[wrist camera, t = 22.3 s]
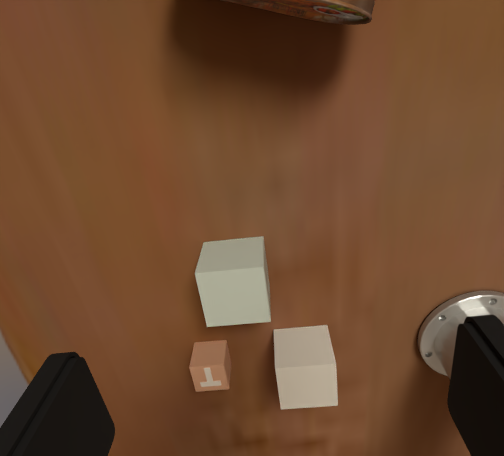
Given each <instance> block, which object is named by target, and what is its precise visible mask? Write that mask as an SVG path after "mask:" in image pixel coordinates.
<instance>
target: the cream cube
mask: <svg viewBox="0 0 504 456" xmlns="http://www.w3.org/2000/svg"><path fill="white" fill-rule="evenodd" d="M274 353H275V371H276V378H277V385H278V392H279V399H280V406H281V409H294V408H309V407H323V406H338V397H337V375H336V361H335V357H334V353H333V348H332V344H331V340H330V335H329V331H328V327H327V325H322V326H310V327H298V328H286V329H275V330H274Z"/></svg>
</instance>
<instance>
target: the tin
mask: <svg viewBox="0 0 504 456" xmlns="http://www.w3.org/2000/svg"><path fill="white" fill-rule="evenodd" d="M222 1H227V2H231V3H236V4H240V5H245V6H250V7H254V8H259V9H263V10H268V11H272V12H277V13H281V14H286V15H290V16H295V17H300V18H304V19H309V20H314V21H321V22H327V23H335V24H347V25H358V24H366V23H369V22H371V20H372V17H371V15H372V11H373V7H374V4H375V0H222Z"/></svg>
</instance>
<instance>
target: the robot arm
mask: <svg viewBox="0 0 504 456" xmlns="http://www.w3.org/2000/svg"><path fill="white" fill-rule="evenodd" d="M418 348H419V351H420V353H421V355H422V358H423V359H424V361H425V362H426V364H427V365H428V366H429V367H430V368H431V369H433V370H434V371H436V372H438V373H440V374H443V375H445V376H448V377H449V379H450V385H449V393H448V408H449V411H450V414H451V416H452V419H453V420H454V422H455V424H456V426H457V428H458V430H459V432H460V434H461V436H462V438H463V440H464V442H465V444H466V446H467V448H468V450H469V452H470V454H471V456H504V293H501V292H496V291H476V292H470V293H466V294H462V295H459V296H457V297H454V298H452V299H450V300H448V301H446V302H445V303H443V304H441V305H440V306H439V307H437V308H436V309H435V310H434V311H432V312H431V314H430V315H429V316H428V317H427V318H426V319H425V321H424V323H423V324H422V326H421V328H420V331H419V334H418ZM114 434H115V427H114V423H113V421H112V419H111V416H110V414H109V412H108V410H107V408H106V405H105V403H104V401H103V399H102V396H101V394H100V392H99V390H98V388H97V385H96V383H95V381H94V379H93V376H92V374H91V372H90V370H89V367H88V365H87V363H86V361H85V359H84V358H83V357H79V355H78V354H77V353H76V352H68V353H57V354H51V355H50V356H49V357H48V358H47V359H46V360H45V362H44V363H43V365H42V366H41V368H40V369H39V371H38V372H37V374H36V375H35V377H34V378H33V380H32V381H31V383H30V384H29V386H28V387H27V389H26V390H25V392H24V393H23V395H22V396H21V398H20V399H19V401H18V402H17V404H16V405H15V407H14V408H13V410H12V411H11V413H10V414H9V416H8V417H7V419H6V420H5V422H4V423H3V425H2V426H1V428H0V456H108V453H109V450H110V448H111V445H112V442H113V439H114Z"/></svg>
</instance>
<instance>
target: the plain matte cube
mask: <svg viewBox="0 0 504 456" xmlns="http://www.w3.org/2000/svg"><path fill="white" fill-rule="evenodd" d="M195 276H196V281H197V285H198V290H199V294H200V298H201V303H202V307H203V312H204V316H205V320H206V325H207V327H213V326H225V325H237V324H249V323H261V322H271V313H270V285H269V277H268V269H267V261H266V253H265V245H264V237H263V236H262V237H252V238H242V239H232V240H222V241H212V242H204V243H203V247H202V250H201V254H200V257H199V260H198V264H197V267H196V271H195Z"/></svg>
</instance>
